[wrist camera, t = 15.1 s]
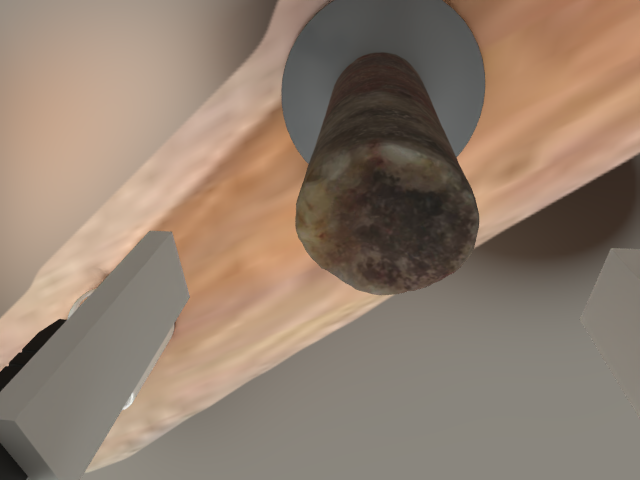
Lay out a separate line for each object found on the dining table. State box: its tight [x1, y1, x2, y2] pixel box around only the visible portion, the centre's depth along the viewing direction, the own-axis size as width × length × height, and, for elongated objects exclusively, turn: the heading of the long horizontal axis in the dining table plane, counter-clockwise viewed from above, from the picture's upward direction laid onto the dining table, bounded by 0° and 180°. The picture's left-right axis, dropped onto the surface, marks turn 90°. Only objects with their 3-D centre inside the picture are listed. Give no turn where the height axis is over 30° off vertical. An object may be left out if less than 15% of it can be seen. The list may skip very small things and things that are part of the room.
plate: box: [282, 0, 485, 164], centre depth 32 cm, size 16×16×1 cm
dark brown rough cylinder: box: [296, 52, 479, 295], centre depth 23 cm, size 8×7×20 cm
